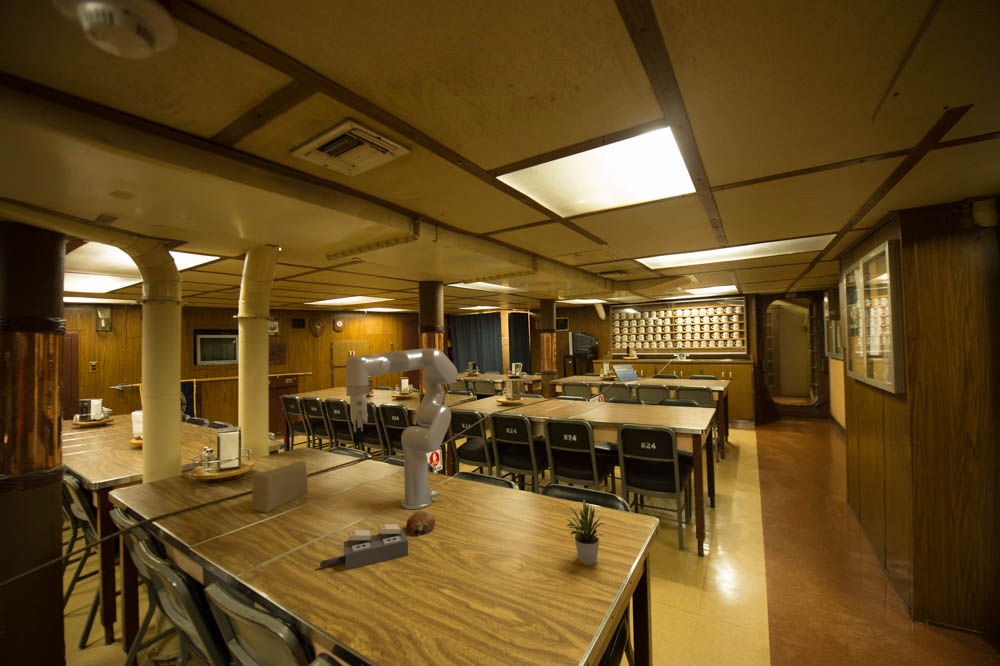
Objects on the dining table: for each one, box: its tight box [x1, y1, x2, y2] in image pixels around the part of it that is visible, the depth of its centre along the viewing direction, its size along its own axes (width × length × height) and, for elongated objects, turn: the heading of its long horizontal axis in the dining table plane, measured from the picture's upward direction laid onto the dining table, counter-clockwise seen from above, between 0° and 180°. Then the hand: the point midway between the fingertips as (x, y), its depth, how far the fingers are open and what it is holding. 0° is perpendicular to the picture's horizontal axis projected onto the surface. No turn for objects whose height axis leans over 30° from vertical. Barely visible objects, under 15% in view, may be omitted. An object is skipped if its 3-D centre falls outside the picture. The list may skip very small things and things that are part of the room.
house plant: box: [562, 499, 606, 566], centre depth 119 cm, size 14×14×16 cm
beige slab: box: [252, 460, 308, 514], centre depth 171 cm, size 22×10×15 cm, turn 155°
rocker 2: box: [378, 523, 401, 534], centre depth 128 cm, size 6×4×2 cm, turn 114°
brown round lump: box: [406, 510, 436, 536], centre depth 142 cm, size 10×10×8 cm
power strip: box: [319, 528, 409, 571], centre depth 122 cm, size 25×9×5 cm, turn 115°
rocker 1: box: [348, 529, 372, 540], centre depth 124 cm, size 6×4×2 cm, turn 114°
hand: (358, 442), depth 142 cm, fingers closed
